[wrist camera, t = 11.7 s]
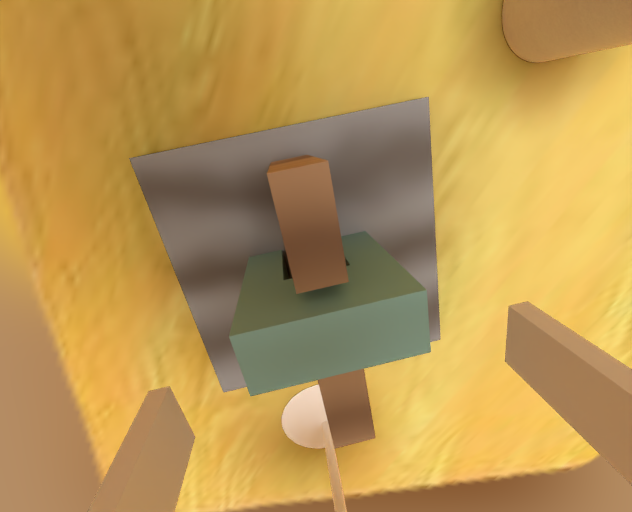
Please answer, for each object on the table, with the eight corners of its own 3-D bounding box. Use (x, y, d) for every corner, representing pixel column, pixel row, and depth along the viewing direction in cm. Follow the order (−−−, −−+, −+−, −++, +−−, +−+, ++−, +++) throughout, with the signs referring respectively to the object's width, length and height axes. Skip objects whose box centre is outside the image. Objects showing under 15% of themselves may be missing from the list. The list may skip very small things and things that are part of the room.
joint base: (136, 157, 20) (13, 168, 11) (421, 99, 21) (538, 61, 12) (225, 384, 27) (198, 507, 18) (435, 333, 28) (513, 425, 19)
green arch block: (248, 257, 22) (228, 336, 13) (365, 231, 23) (426, 289, 13) (261, 297, 24) (250, 396, 14) (371, 272, 24) (430, 352, 15)
